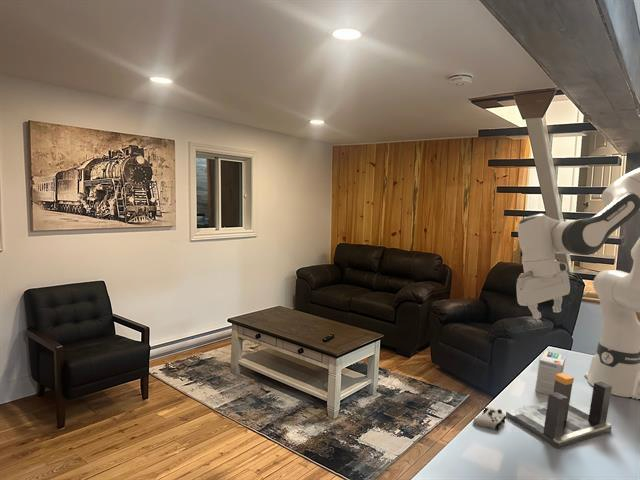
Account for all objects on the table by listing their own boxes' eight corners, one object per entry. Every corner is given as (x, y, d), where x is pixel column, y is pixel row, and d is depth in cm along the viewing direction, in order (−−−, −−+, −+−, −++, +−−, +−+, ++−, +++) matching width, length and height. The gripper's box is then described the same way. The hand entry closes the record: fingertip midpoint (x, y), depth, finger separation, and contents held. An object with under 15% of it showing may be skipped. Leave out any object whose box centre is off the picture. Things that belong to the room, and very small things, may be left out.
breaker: (556, 414, 122) (562, 372, 120) (567, 420, 119) (573, 377, 117) (549, 416, 120) (555, 374, 119) (559, 422, 118) (566, 379, 116)
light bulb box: (539, 379, 148) (543, 349, 147) (561, 386, 145) (566, 355, 143) (534, 390, 140) (539, 359, 138) (558, 397, 136) (562, 365, 134)
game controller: (482, 408, 125) (499, 399, 122) (494, 425, 123) (512, 417, 120) (470, 421, 117) (488, 412, 114) (483, 439, 115) (501, 431, 112)
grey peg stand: (556, 403, 132) (562, 364, 130) (611, 432, 118) (618, 388, 116) (505, 416, 122) (511, 374, 121) (557, 449, 108) (565, 402, 106)
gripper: (526, 274, 121) (534, 323, 121) (570, 263, 131) (578, 309, 130) (507, 274, 127) (515, 321, 126) (551, 264, 136) (558, 308, 136)
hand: (547, 315), depth 128 cm, fingers open, 8 cm apart
